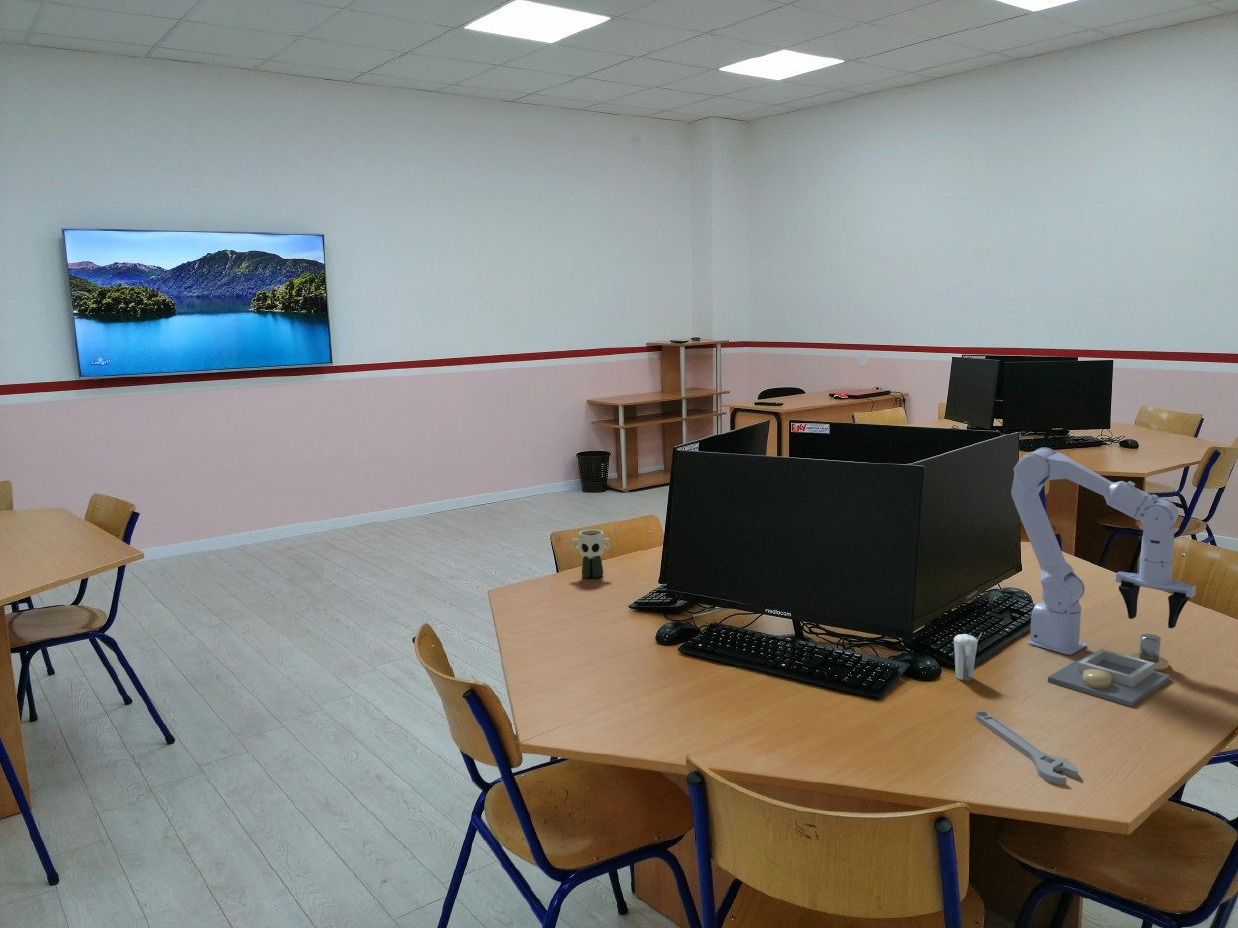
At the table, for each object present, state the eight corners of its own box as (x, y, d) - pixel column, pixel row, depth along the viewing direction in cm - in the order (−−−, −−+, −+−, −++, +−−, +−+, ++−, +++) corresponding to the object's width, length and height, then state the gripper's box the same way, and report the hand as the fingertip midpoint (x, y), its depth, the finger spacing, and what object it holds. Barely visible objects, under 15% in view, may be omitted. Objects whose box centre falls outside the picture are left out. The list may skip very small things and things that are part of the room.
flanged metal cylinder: (1123, 664, 194) (1125, 636, 193) (1137, 655, 198) (1139, 628, 197) (1159, 674, 189) (1161, 645, 188) (1173, 665, 193) (1175, 637, 192)
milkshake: (982, 682, 187) (984, 636, 186) (954, 681, 188) (955, 634, 187) (978, 673, 192) (980, 628, 190) (950, 672, 193) (952, 626, 191)
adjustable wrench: (971, 719, 173) (971, 710, 173) (1003, 716, 174) (1004, 707, 174) (1049, 787, 149) (1050, 777, 148) (1087, 783, 149) (1087, 773, 149)
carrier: (1047, 681, 187) (1048, 667, 186) (1088, 657, 198) (1089, 644, 198) (1131, 706, 175) (1132, 691, 174) (1170, 679, 186) (1171, 665, 185)
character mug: (572, 580, 264) (570, 535, 261) (575, 572, 271) (573, 529, 268) (610, 579, 263) (608, 535, 260) (612, 572, 270) (611, 529, 267)
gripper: (1203, 562, 186) (1198, 626, 189) (1127, 548, 197) (1123, 609, 200) (1189, 569, 182) (1184, 634, 184) (1113, 555, 193) (1108, 617, 196)
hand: (1151, 622), depth 192 cm, fingers open, 7 cm apart
